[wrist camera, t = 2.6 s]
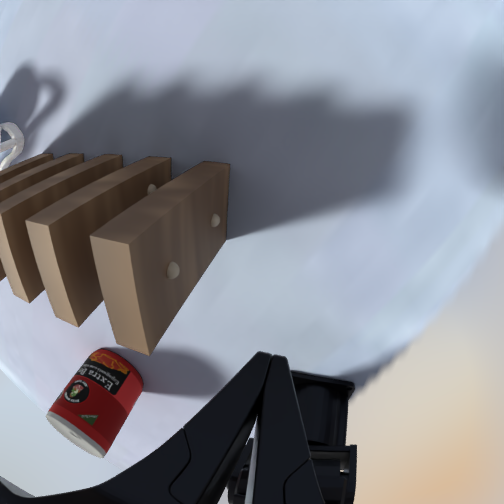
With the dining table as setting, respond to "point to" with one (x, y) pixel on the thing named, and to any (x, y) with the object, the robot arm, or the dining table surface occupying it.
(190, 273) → the tile
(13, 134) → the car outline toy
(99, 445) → the canned food
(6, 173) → the tile
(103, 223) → the tile
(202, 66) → the dining table surface
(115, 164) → the tile
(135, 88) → the dining table surface
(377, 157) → the dining table surface
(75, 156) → the tile
